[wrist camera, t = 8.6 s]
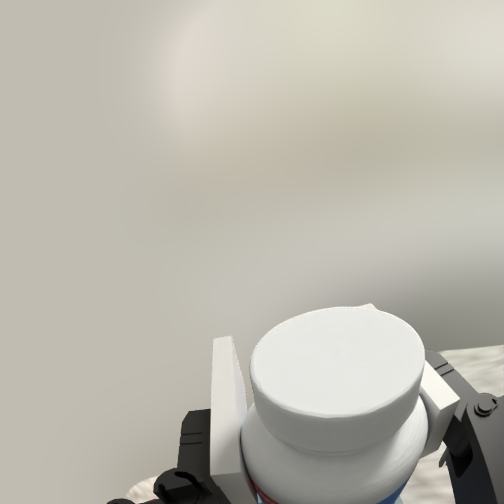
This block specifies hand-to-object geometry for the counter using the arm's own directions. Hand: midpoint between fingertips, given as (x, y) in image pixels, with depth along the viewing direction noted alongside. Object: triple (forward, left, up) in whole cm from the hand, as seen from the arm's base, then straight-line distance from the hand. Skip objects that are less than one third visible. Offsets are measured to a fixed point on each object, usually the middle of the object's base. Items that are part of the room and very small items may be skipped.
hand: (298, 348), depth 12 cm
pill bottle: (0, +5, -6) cm, 8 cm away
